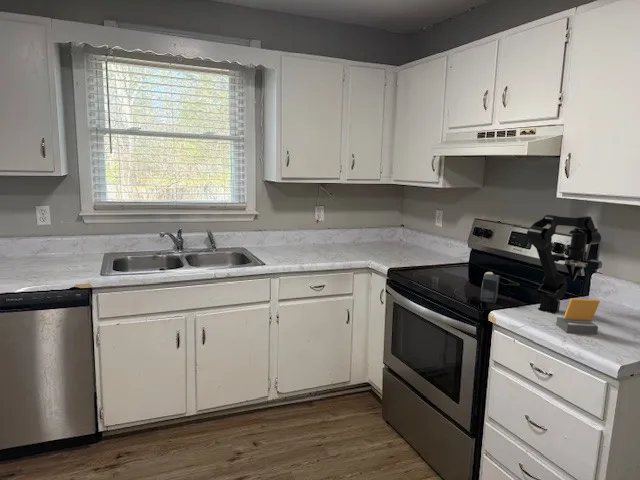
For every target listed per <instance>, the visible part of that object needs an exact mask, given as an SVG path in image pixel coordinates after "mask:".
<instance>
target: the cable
mask: <svg viewBox="0 0 640 480" xmlns="http://www.w3.org/2000/svg"><path fill="white" fill-rule="evenodd" d="M485 274H491V275H495V274H494V273H493V272H492V271H487V272H485V273H484V275H483V277H484V276H485ZM499 279H503V280H507V281H508V282H509V283H507V284H506V283H503V282H502V281H500V280H499V284H501V285H503V286H514V287H515V286H516V287H519V286H521V284H520V283H519V282H516V281H513V280H511V279H509V278H507V277H506V278H505V277H502V276H501V275H499Z"/></svg>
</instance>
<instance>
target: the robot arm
mask: <svg viewBox="0 0 640 480" xmlns="http://www.w3.org/2000/svg"><path fill="white" fill-rule="evenodd" d="M548 225H549V227H548V228H546V227H547V226H548ZM557 226H561V227H563V226H564V227H565V226H567V227H570V228H572V229H571V230H570V231H569V232H568V234H569V235H571V239H570V244H569V246H568V247H569V249H568V250H569V251H568V256H565V254H562V253H557V252H556V253H553V252H552V249H551V246H550V244H551V242H552V239H553V238H552V237H553V236H554V235H555V234H556V232H557V231H556V229H557ZM598 230H599V229H598V228H596V226H595V223H594V221H593V219H592V217H591V216H588V215H582V214H572V215H570V216H565V215H563V216H562V215H555V214H545V215H544V217H542V218H541V219H539V220H537V221H536V222H534V223H533V224H532V225H531V226H530V227H529V228H528V229H527V231H526V237H527V239H528V242H529V243H530V244H531V245H532V246H533V247H534V248H535V249H536V252H537V255H538V258H539V260H540V264H541V267H542V270H543V274H544V277H543V279H542V284H541V285H540V286H539V287H538V288H537V292H538V293H537V294H539V295H541V296H540V302H539V303H540V304H539V307H538V308H537V309H538V310H539V311H542V310H543V312H546V311H547V312H546V313H551V314H555V313H556V314H557V312H559V311H560V309H561V307H560V305H561V299H564V297H565V294H566V292H567V289H568V281H567V279H566V275H565V274H563V273H561V272H560V273H559V271H558V269H557V265H556V263H558V262H560V261H563V262H564V263H563V266H565V267H566V269H567V271H568V274H569V278H570V281H573V282H574V281H575V280H576V278H577V276H578V274H579V273H580V271H581V270H582V269H585V268H586V267H588V268H589V269H594V270H600V269H602V267H603V262H602V261H601V260H598V259H590V260H588V257H589V252H588V251H587V245H597V244H599V243H600V242H601V240H602V236H601V233H600V232H599V231H598Z"/></svg>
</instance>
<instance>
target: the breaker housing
mask: <svg viewBox="0 0 640 480" xmlns="http://www.w3.org/2000/svg"><path fill="white" fill-rule="evenodd" d="M555 325H556V326H557V327H558V326H559V327H558V328H560V329H561V330H562V331H564V332H566V333H567V334H568V333H569V334H583V335H598V330H599V326H598V325H597V324H595V323H593V321H592V322H588V321H570V320H563V317H556V322H555Z"/></svg>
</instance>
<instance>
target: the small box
mask: <svg viewBox="0 0 640 480" xmlns="http://www.w3.org/2000/svg"><path fill="white" fill-rule="evenodd" d="M484 275H485V276H484ZM484 275H483V279H482V284H481V290H480V291H481V293H480V302H483V303H490V304H495V305H496V303H497V299H498V296H499V295H498V294H499V293H498V292H499V284H500V283H499V281H500V278H499V276H500V275H498V274H494V275H491V274H485V273H484Z"/></svg>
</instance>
